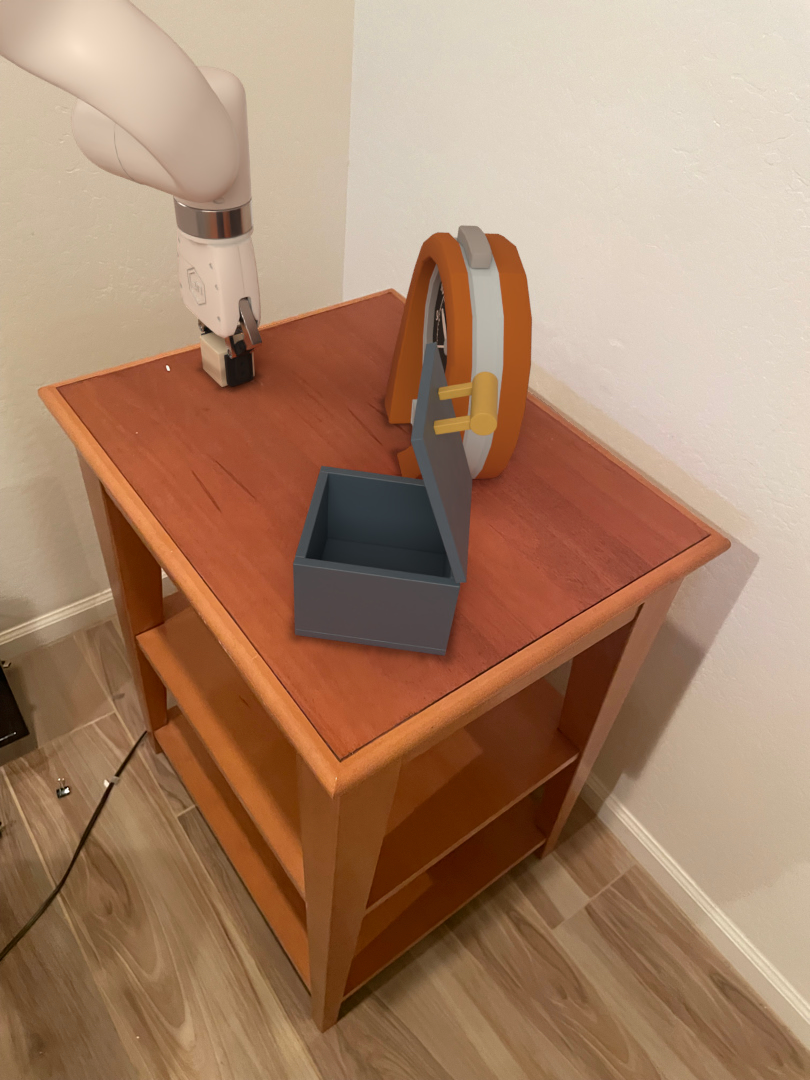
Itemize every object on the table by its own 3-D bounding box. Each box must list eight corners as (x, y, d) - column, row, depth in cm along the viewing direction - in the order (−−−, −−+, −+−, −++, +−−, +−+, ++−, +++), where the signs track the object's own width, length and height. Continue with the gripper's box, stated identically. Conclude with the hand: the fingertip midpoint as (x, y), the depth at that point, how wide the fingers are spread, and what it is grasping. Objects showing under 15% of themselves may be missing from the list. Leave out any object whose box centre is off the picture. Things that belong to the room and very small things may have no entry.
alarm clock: (378, 380, 88) (394, 184, 72) (458, 379, 90) (490, 187, 74) (409, 507, 73) (438, 294, 57) (504, 502, 75) (558, 295, 59)
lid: (410, 440, 45) (490, 428, 44) (425, 343, 53) (493, 331, 52) (455, 583, 54) (523, 577, 53) (463, 482, 62) (522, 474, 61)
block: (221, 387, 84) (218, 353, 81) (202, 369, 86) (198, 335, 83) (255, 376, 86) (253, 343, 83) (236, 358, 88) (233, 325, 85)
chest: (294, 635, 61) (292, 563, 54) (320, 537, 69) (321, 465, 63) (445, 656, 61) (460, 587, 54) (452, 555, 69) (467, 485, 63)
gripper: (141, 190, 76) (165, 347, 88) (223, 256, 67) (237, 418, 80) (207, 179, 79) (221, 331, 92) (292, 239, 71) (295, 397, 84)
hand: (228, 370), depth 86 cm, fingers closed on block, 4 cm apart
